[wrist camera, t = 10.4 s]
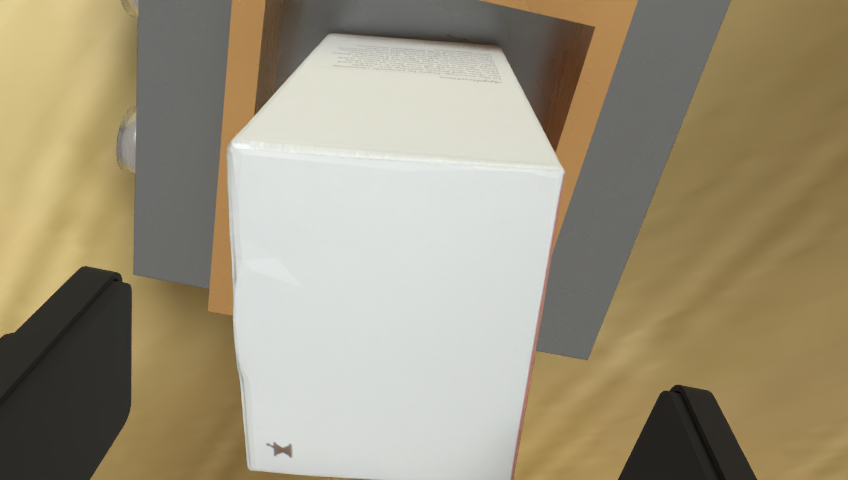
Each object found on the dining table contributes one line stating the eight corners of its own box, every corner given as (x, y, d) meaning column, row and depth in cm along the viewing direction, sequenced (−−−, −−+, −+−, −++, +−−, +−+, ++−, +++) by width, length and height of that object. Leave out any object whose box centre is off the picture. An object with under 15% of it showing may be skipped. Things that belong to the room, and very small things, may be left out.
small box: (481, 244, 27) (514, 497, 15) (325, 233, 27) (239, 479, 15) (505, 40, 23) (572, 166, 12) (325, 26, 23) (213, 140, 12)
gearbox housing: (678, -29, 28) (777, -5, 20) (564, 291, 35) (602, 405, 27) (171, -150, 26) (52, -177, 18) (158, 211, 33) (68, 307, 25)
